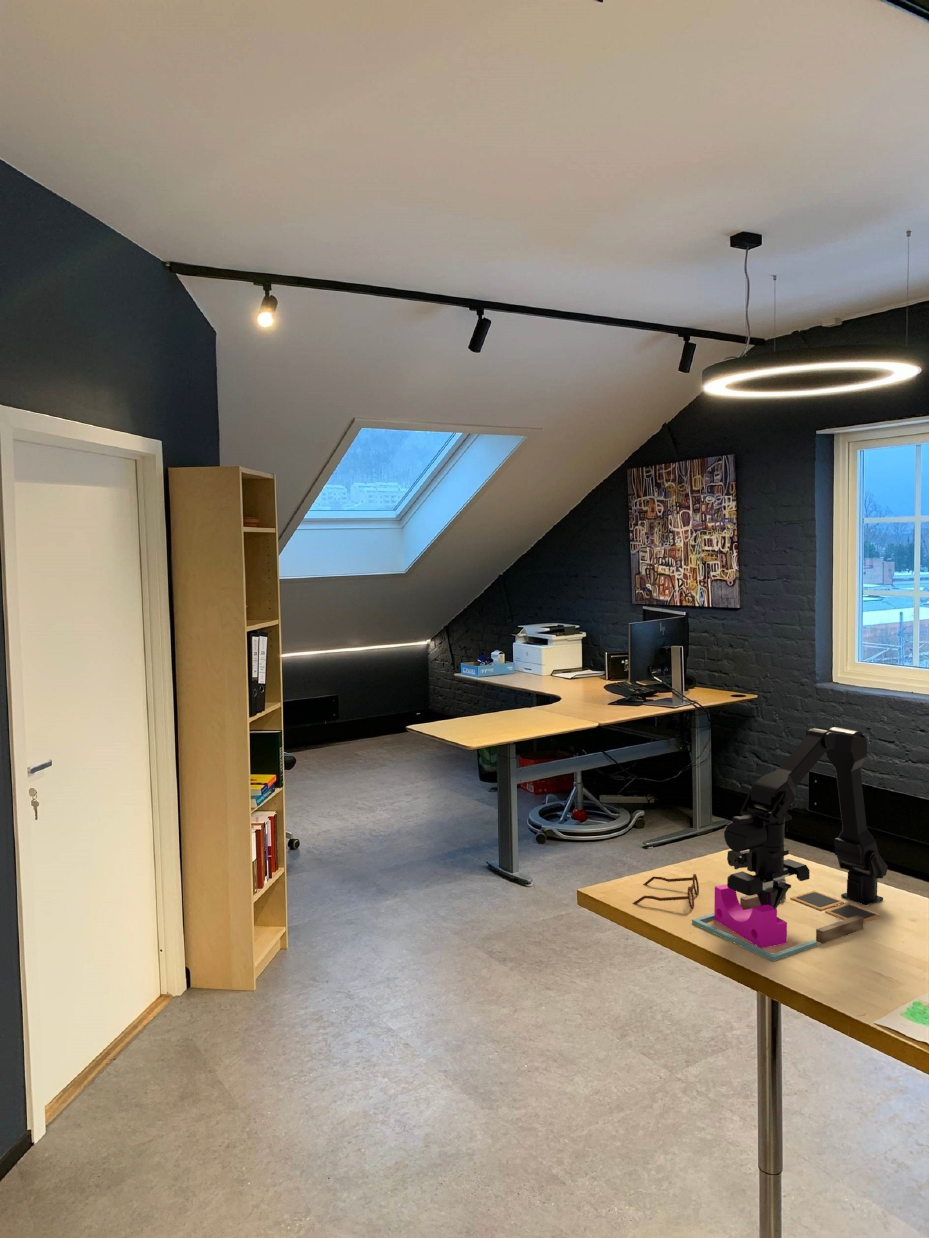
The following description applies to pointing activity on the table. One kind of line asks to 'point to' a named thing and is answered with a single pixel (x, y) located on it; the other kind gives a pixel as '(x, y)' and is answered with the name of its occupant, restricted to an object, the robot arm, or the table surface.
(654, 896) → the glasses
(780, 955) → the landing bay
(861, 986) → the table surface
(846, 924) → the channel
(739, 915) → the toy block
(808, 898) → the pit traps
